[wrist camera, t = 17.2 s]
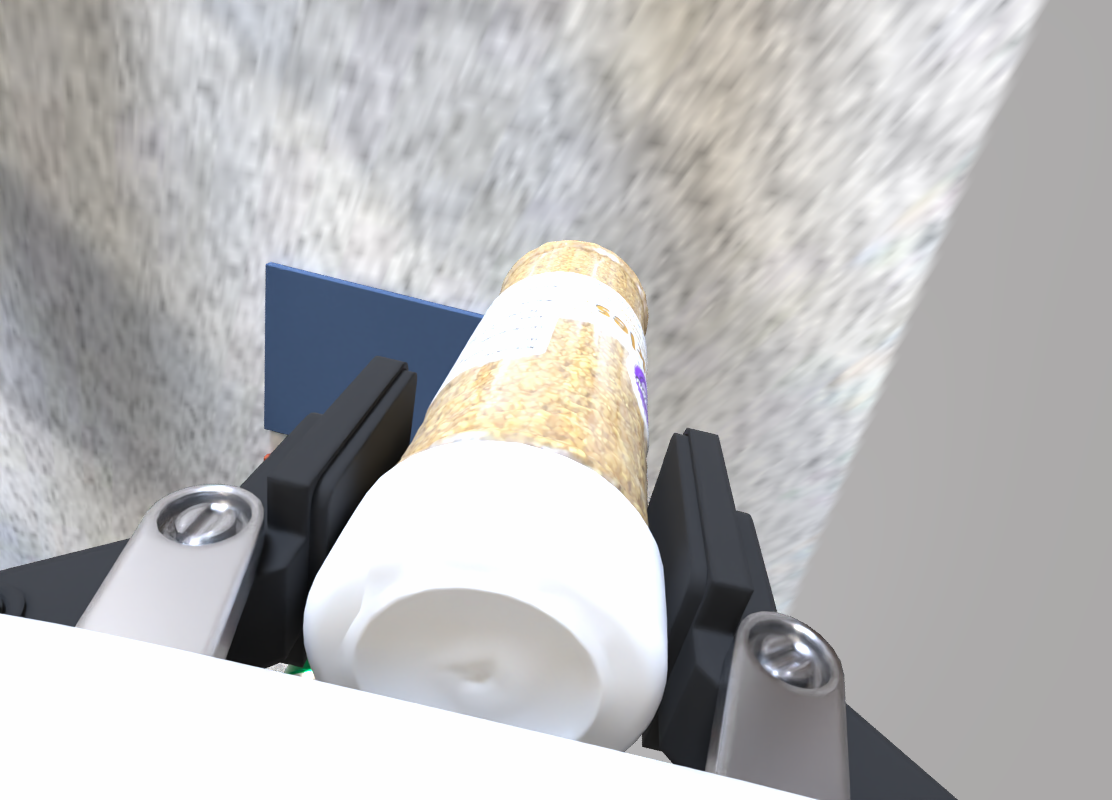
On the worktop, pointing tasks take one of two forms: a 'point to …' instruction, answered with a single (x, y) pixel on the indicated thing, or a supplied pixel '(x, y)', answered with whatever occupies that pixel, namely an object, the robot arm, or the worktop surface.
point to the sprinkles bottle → (516, 524)
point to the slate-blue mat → (349, 342)
